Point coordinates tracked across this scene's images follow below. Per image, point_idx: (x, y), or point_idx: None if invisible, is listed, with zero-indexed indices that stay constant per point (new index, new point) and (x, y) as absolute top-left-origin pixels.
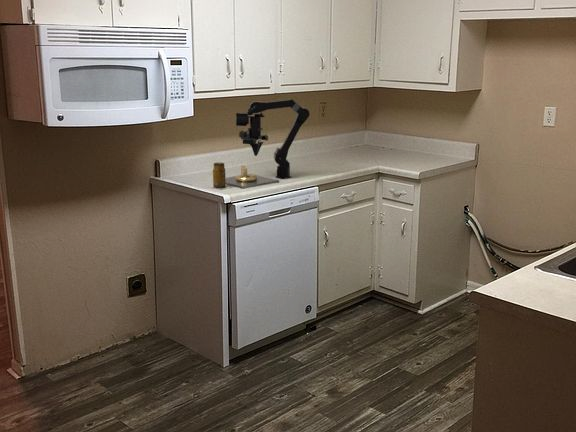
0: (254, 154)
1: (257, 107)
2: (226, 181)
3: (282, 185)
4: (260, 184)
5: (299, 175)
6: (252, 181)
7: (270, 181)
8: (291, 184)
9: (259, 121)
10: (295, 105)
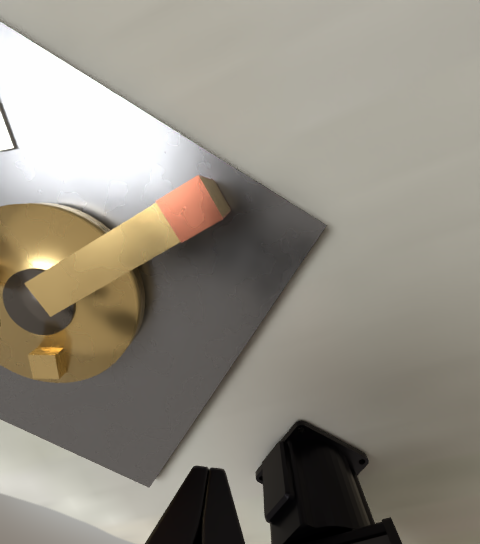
0: (181, 490)
1: None
2: None
3: (76, 507)
4: (2, 413)
5: (408, 523)
6: None
7: (91, 452)
8: (124, 537)
9: None
10: None
